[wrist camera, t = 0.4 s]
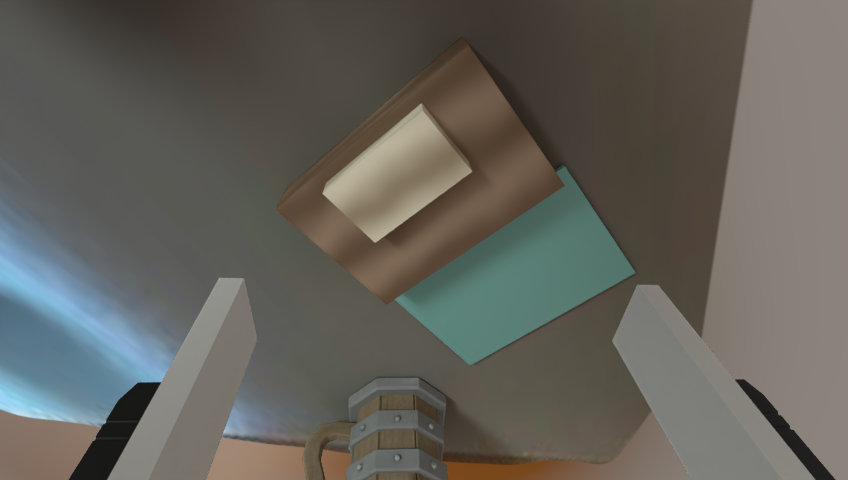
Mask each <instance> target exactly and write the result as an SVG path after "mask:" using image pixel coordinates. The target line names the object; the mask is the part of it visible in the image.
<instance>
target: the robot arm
mask: <svg viewBox="0 0 848 480" xmlns="http://www.w3.org/2000/svg"><path fill="white" fill-rule="evenodd" d="M256 341H257V336H256V332H255V327H254V322H253V317H252V313H251V308H250V303H249V299H248V294H247V289H246V285H245V280H244V278H219V279H218V281H217V283H216V285H215V286H214V288H213V290H212V292H211V294H210V295H209V297H208V299H207V301H206V303H205V304H204V306H203V308H202V310H201V312H200V313H199V315H198V317H197V319H196V321H195V323H194V324H193V326H192V328H191V330H190V332H189V333H188V335H187V337H186V339H185V341H184V342H183V344H182V346H181V348H180V350H179V351H178V353H177V355H176V357H175V359H174V360H173V362H172V364H171V366H170V368H169V369H168V371H167V373H166V375H165V377H164V378H163V380H162V382H148V383H137V384H136V385H135V386H134V387H133V388H132V389H130V390H129V391H128V392H127V393H126V394H125V395H124V396H123V397H122V398H120V399H119V401H118V402H117V404H116V405H115V407H114V409H113V410H112V412H111V413H110V415H109V416H108V418H107V420H106V424H103V426H102V428H101V429H100V431H99V432H98V434H97V436H96V440H95V441H93V442H92V444H91V445H90V447H89V448H88V450H87V451H86V453H85V455H84V456H83V458H82V459H81V461H80V463H79V464H78V466H77V467H76V469H75V470H74V472H73V474H72V475H71V477H70V479H69V480H206V478H207V475H208V473H209V470H210V467H211V464H212V462H213V459H214V456H215V453H216V450H217V448H218V445H219V442H220V440H221V437H222V434H223V431H224V429H225V426H226V423H227V421H228V418H229V415H230V412H231V410H232V407H233V404H234V401H235V399H236V396H237V393H238V390H239V388H240V385H241V382H242V379H243V377H244V374H245V371H246V369H247V366H248V363H249V360H250V358H251V355H252V352H253V349H254V347H255V344H256ZM612 342H613V343H614V345H615V347H616V349H617V350H618V352H619V354H620V356H621V357H622V359H623V361H624V363H625V364H626V366H627V368H628V370H629V371H630V373H631V375H632V377H633V378H634V380H635V382H636V384H637V385H638V387H639V389H640V391H641V393H642V394H643V396H644V398H645V400H646V401H647V403H648V405H649V407H650V408H651V410H652V412H653V413H654V415H655V417H656V419H657V421H658V422H659V424H660V426H661V428H662V429H663V431H664V433H665V435H666V436H667V438H668V440H669V442H670V443H671V445H672V447H673V449H674V451H675V452H676V454H677V456H678V457H679V459H680V461H681V463H682V465H683V466H684V468H685V470H686V472H687V473H688V475H689V477H690V479H691V480H835V479H834V477H833V476H832V475H831V474H830V473H829V472H828V470H827V469H826V468H825V467H824V466H823V464H822V463H821V462H820V461H819V460H818V459H817V457H816V456H815V455H814V454H813V453H812V452H811V450H810V449H809V448H808V447H807V446H806V444H805V443H804V442H803V441H802V440H801V438H800V437H799V436H798V435H797V434H796V433H795V431H794V430H791V429H790V426H789V424H788V423H787V422H786V421H785V420H784V418H783V417H782V416H781V415H778V411H777V410H776V409H775V408H774V407H773V405H772V404H771V403H770V402H769V401H768V400H767V398H766V397H765V396H764V395H763V394H762V393H761V392H759V391H758V390H756V389H755V388H754V387H753V386H751V385H750V384H749V383H748V382H747V381H745V380H743V379H742V380H734V378H733V377H732V376H731V375H730V374H729V372H728V371H727V370H726V368H725V367H724V366H723V365H722V364H721V362H720V361H719V360H718V359H717V357H716V356H715V355H714V354H713V352H712V351H711V350H710V349H709V348H708V346H707V345H706V344H705V342H704V341H703V340H702V339H701V338H700V336H699V335H698V334H697V333H696V331H695V330H694V329H693V328H692V326H691V325H690V324H689V323H688V321H687V320H686V319H685V318H684V316H683V315H682V314H681V313H680V312H679V310H678V309H677V308H676V307H675V305H674V304H673V303H672V302H671V300H670V299H669V298H668V297H667V295H666V294H665V293H664V292H663V291H662V289H661V288H660V287H659V286H658V285H637V286H636V288H635V291H634V293H633V295H632V297H631V300H630V302H629V304H628V306H627V309H626V311H625V313H624V315H623V318H622V320H621V322H620V324H619V327H618V329H617V331H616V333H615V336H614V338H613V340H612Z"/></svg>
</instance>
